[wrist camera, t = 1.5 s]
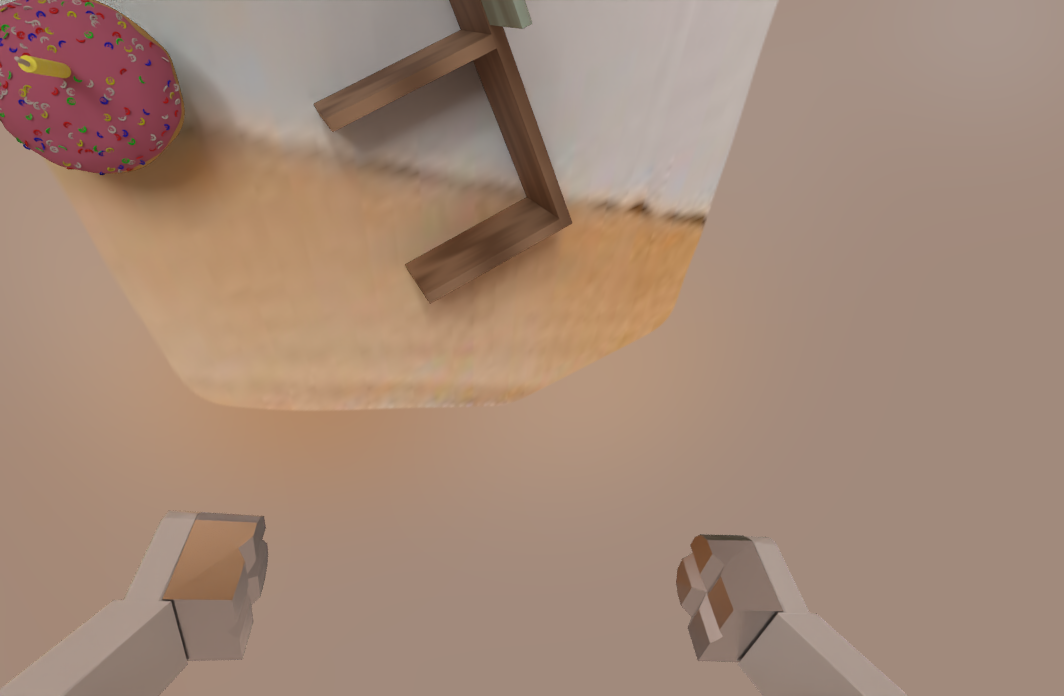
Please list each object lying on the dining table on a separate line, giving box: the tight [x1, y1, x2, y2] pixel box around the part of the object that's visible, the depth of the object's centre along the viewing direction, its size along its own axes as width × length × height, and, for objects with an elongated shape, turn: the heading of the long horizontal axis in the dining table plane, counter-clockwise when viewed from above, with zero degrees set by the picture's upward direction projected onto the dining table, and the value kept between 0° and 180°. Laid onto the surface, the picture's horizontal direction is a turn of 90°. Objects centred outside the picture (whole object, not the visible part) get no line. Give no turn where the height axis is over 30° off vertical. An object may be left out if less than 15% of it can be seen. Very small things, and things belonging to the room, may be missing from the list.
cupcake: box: [0, 0, 185, 175], centre depth 30 cm, size 9×8×12 cm
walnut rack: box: [314, 0, 572, 304], centre depth 36 cm, size 12×26×11 cm, turn 22°
